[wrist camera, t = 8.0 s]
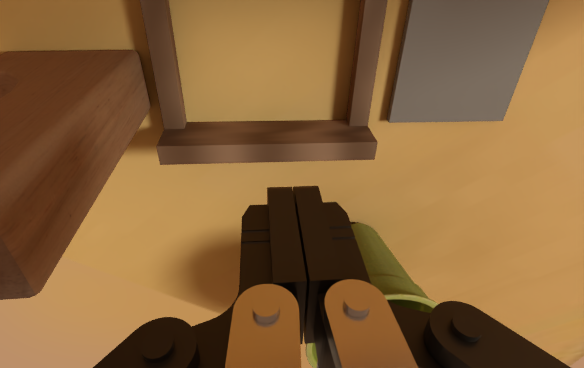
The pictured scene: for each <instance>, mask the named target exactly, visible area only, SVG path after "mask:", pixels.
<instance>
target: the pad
mask: <svg viewBox="0 0 584 368" xmlns="http://www.w3.org/2000/svg"><path fill="white" fill-rule="evenodd" d="M548 2H549V0H409V6H408V11H407V16H406V21H405V27H404V32H403V37H402V43H401V48H400V53H399V58H398V64H397V69H396V74H395V79H394V85H393V90H392V95H391V101H390V106H389V111H388V116H387V120H388V122H389V123H391V122H459V121H503V119H504V116H505V114H506V111H507V108H508V106H509V103H510V101H511V98H512V96H513V93H514V90H515V88H516V85H517V83H518V80H519V77H520V75H521V72H522V70H523V67H524V64H525V62H526V59H527V57H528V54H529V51H530V49H531V46H532V44H533V41H534V39H535V36H536V33H537V31H538V28H539V26H540V23H541V20H542V18H543V15H544V13H545V10H546V7H547V5H548Z"/></svg>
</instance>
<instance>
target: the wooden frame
mask: <svg viewBox="0 0 584 368" xmlns="http://www.w3.org/2000/svg"><path fill="white" fill-rule="evenodd" d="M140 3H141V9H142V14H143V19H144V25H145V30H146V35H147V40H148V46H149V51H150V56H151V61H152V67H153V72H154V77H155V83H156V88H157V93H158V98H159V104H160V109H161V114H162V119H163V125H164V131H163V133H162V135H161V138H160V140H159V142H158V144H157V146H156V147H157V152H158V157H159V161H160V165H170V164H211V163H252V162H293V161H334V160H374V159H375V153H376V148H377V140H376V139H375V137H374V136H373V134H372V132H371V131H370V129H369V128H368V120H369V114H370V107H371V101H372V95H373V88H374V82H375V76H376V69H377V63H378V57H379V51H380V44H381V38H382V32H383V25H384V19H385V13H386V6H387V0H361V1H360V9H359V18H358V26H357V34H356V42H355V51H354V59H353V67H352V76H351V84H350V92H349V100H348V109H347V117H346V120H318V121H246V122H186V115H185V108H184V101H183V95H182V88H181V81H180V75H179V68H178V61H177V55H176V48H175V41H174V35H173V28H172V21H171V15H170V8H169V1H168V0H140Z"/></svg>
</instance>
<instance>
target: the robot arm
mask: <svg viewBox="0 0 584 368" xmlns="http://www.w3.org/2000/svg"><path fill="white" fill-rule="evenodd" d="M303 333H304V341H305V344H307V343H315V346H316V353H317V367H316V368H570V367H569V366H567V365H566V364H564V363H563V362H561V361H559V360H558V359H556V358H555V357H553V356H552V355H550V354H548V353H547V352H545V351H544V350H542V349H541V348H539V347H537V346H536V345H534V344H533V343H531V342H530V341H528V340H526V339H525V338H523V337H522V336H520V335H518V334H517V333H515V332H514V331H512V330H511V329H509V328H507V327H506V326H504V325H503V324H501V323H500V322H498V321H496V320H495V319H493V318H492V317H490V316H489V315H487V314H485V313H484V312H482V311H481V310H479V309H477V308H476V307H474V306H471V305H469V304H466V303H463V302H458V301H447V302H443V303H440V304H438V305H437V306H436V307H434V309H433V310H432V312H431V313H428V312H423V311H419V310H415V309H410V308H406V307H402V306H399V305H396V304H394V303H392V302H390V301H388V300H387V299H386V298H385V296H384V295H383V294H382V292H381V291H380V290H379V289H377V288H376V287H375V286H373V285H372V283H371V281H370V278H369V276H368V273H367V270H366V267H365V264H364V261H363V258H362V255H361V252H360V249H359V247H358V244H357V241H356V239H355V235H354V232H353V229H352V228H351V223H350V221H349V218H348V215H347V213H346V212H345V211H344V210H343V209H342V208H341V207H340V206H339V205H338V204H337V203H336V202H326V203H323V202H322V198H321V195H320V191H319V187H318V186H300V187H293V191H292V187H270V188H267V205H250V206H249V207H248V209H247V210H246V212H245V213H244V215H243V216H242V233H241V258H240V285H239V293H238V296H237V298H236V300H235V302H234V303H233V304H232V306H231V307H230V308H229V309H228V310H227V311H225V312H224V313H223V314H221V315H220V316H218V317H216V318H214V319H211V320H209V321H206V322H203V323H200V324H198V325H195V326H192V327H191V326H190V325H189V324H188V323H186V322H185V321H183V320H181V319H178V318H173V317H164V318H158V319H155V320H152V321H150V322H148V323H146V324H144V325H142V326H140V327H139V328H138V329H137V330H135V331H134V332H133V333H132V334H131V335H130V336H128V337H127V338H126V339H125V340H124V341H123V342H122V343H121V344H119V345H118V346H117V347H116V348H115V349H114V350H112V351H111V352H110V353H109V354H108V355H107V356H106V357H104V358H103V359H102V360H101V361H100V362H99V363H98V364H97V365H95V366H94V367H93V368H301V348H300V344H302V341H303Z"/></svg>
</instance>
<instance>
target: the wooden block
mask: <svg viewBox="0 0 584 368" xmlns="http://www.w3.org/2000/svg"><path fill="white" fill-rule="evenodd" d="M149 110H150V102H149V97H148V93H147V88H146V84H145V80H144V75H143V71H142V66H141V62H140V58H139V55H138V53H137V52H136V51H133V50H98V51H33V52H5V53H3V54H1V55H0V300H3V299H18V298H30V297H32V296H35V295H36V294H38V293H39V292H40V291H41V290H42V288H43V287H44V285H45V283H46V282H47V280H48V278H49V277H50V275H51V273H52V272H53V270H54V268H55V267H56V265H57V263H58V261H59V260H60V258H61V257H62V255H63V253H64V252H65V250H66V248H67V247H68V245H69V243H70V242H71V240H72V238H73V237H74V235H75V233H76V232H77V230H78V228H79V227H80V225H81V223H82V222H83V220H84V218H85V217H86V215H87V213H88V212H89V210H90V208H91V207H92V205H93V203H94V202H95V200H96V198H97V197H98V195H99V193H100V192H101V190H102V188H103V186H104V185H105V183H106V181H107V180H108V178H109V176H110V175H111V173H112V171H113V170H114V168H115V166H116V165H117V163H118V161H119V160H120V158H121V156H122V155H123V153H124V151H125V150H126V148H127V146H128V145H129V143H130V141H131V140H132V138H133V136H134V135H135V133H136V131H137V130H138V128H139V126H140V125H141V123H142V121H143V120H144V118H145V116H146V115H147V113H148V111H149Z"/></svg>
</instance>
